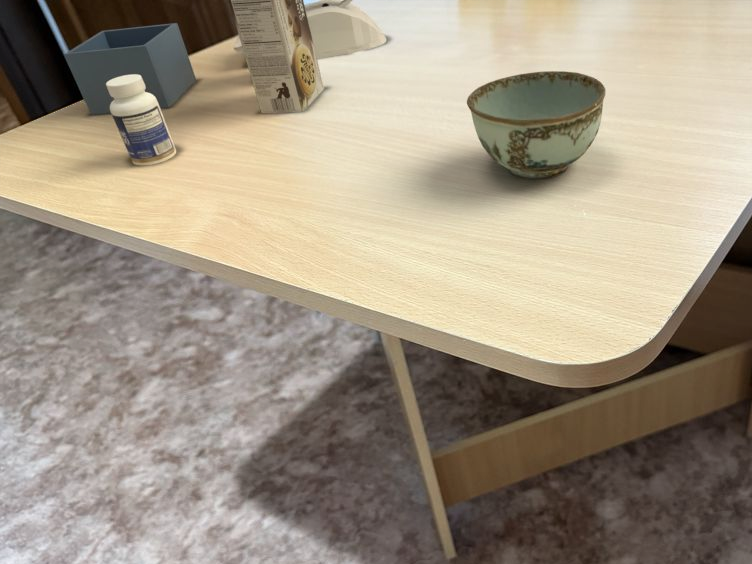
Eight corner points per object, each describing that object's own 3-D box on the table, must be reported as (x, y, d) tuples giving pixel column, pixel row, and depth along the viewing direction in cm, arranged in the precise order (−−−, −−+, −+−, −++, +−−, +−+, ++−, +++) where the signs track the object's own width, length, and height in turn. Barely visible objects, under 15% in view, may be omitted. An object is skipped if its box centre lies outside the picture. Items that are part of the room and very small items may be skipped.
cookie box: (284, 93, 101) (252, -30, 91) (326, 91, 100) (297, -34, 90) (260, 116, 94) (221, -14, 84) (304, 115, 93) (270, -18, 83)
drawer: (170, 110, 100) (145, 45, 95) (92, 118, 101) (63, 54, 96) (205, 75, 112) (185, 16, 107) (135, 82, 114) (112, 24, 108)
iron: (247, 54, 120) (219, -43, 111) (384, 33, 121) (368, -65, 112) (241, 73, 112) (210, -31, 102) (389, 50, 113) (371, -55, 104)
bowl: (632, 169, 70) (637, 89, 65) (528, 213, 65) (523, 131, 60) (548, 133, 80) (546, 61, 75) (450, 170, 74) (441, 95, 69)
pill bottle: (134, 156, 87) (101, 77, 81) (178, 147, 88) (148, 69, 82) (131, 172, 83) (96, 91, 77) (177, 162, 84) (145, 81, 78)
